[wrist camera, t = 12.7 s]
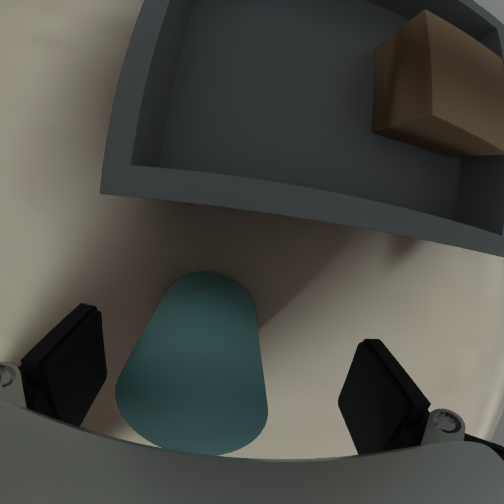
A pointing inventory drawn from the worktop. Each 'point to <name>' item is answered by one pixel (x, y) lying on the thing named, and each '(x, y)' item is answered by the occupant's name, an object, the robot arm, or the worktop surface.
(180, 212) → the worktop surface
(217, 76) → the tote
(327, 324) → the worktop surface
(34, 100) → the worktop surface
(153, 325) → the teal cylinder
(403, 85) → the walnut cube
